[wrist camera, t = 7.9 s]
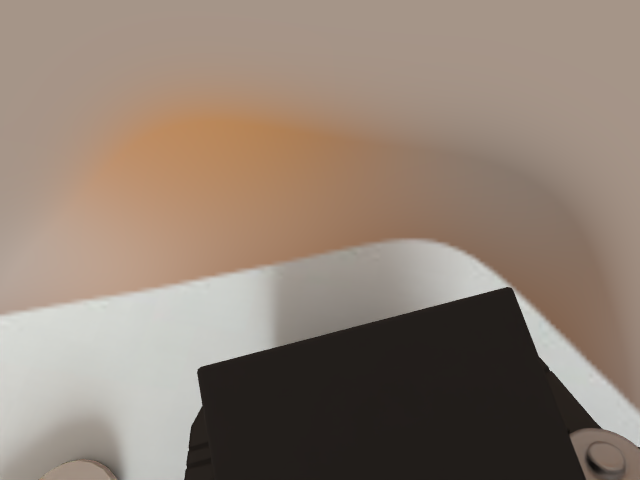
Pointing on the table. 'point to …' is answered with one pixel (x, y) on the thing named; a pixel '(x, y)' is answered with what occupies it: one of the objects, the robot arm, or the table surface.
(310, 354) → the pad block
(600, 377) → the table surface
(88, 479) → the keychain
